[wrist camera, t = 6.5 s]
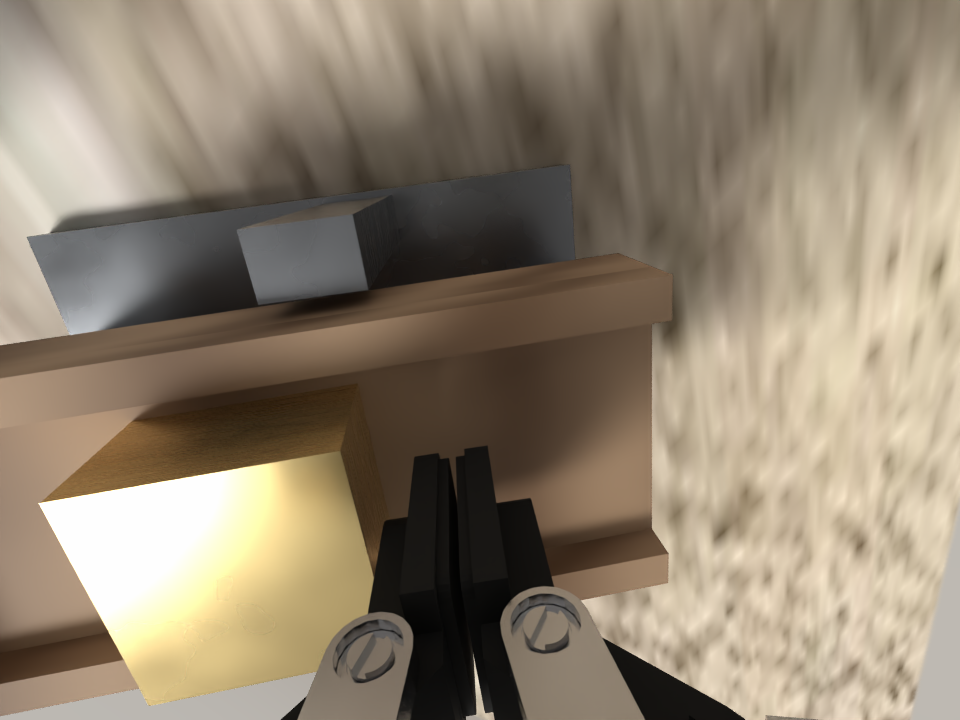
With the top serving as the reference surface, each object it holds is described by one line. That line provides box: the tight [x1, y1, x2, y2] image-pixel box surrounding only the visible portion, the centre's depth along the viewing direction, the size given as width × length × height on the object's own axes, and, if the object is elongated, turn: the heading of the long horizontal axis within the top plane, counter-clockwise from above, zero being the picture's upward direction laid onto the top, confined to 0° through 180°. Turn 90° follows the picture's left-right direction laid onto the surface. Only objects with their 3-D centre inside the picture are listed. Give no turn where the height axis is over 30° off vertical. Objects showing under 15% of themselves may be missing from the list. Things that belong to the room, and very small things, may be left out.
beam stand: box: [27, 165, 575, 335], centre depth 17 cm, size 19×13×9 cm
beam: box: [0, 253, 673, 716], centre depth 13 cm, size 19×8×3 cm, turn 97°
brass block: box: [39, 383, 390, 706], centre depth 11 cm, size 5×5×3 cm
